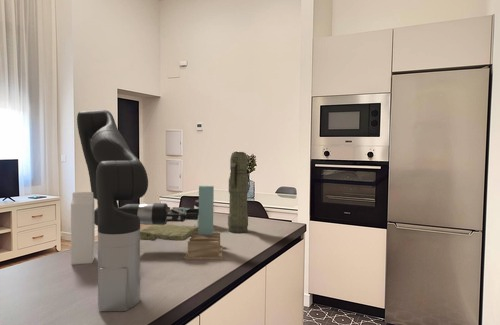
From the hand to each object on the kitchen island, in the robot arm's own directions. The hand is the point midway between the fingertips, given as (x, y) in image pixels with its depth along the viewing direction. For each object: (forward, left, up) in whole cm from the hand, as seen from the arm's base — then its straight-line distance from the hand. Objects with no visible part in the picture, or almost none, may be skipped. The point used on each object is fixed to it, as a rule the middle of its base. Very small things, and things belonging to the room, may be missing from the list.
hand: (199, 214), depth 121 cm
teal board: (0, -2, -12) cm, 12 cm away
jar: (+39, +2, -13) cm, 41 cm away
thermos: (+29, -14, -13) cm, 35 cm away
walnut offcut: (-4, -2, -12) cm, 13 cm away
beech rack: (-4, -2, -13) cm, 14 cm away
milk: (-11, +36, -13) cm, 40 cm away
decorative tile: (+21, +15, -14) cm, 29 cm away
